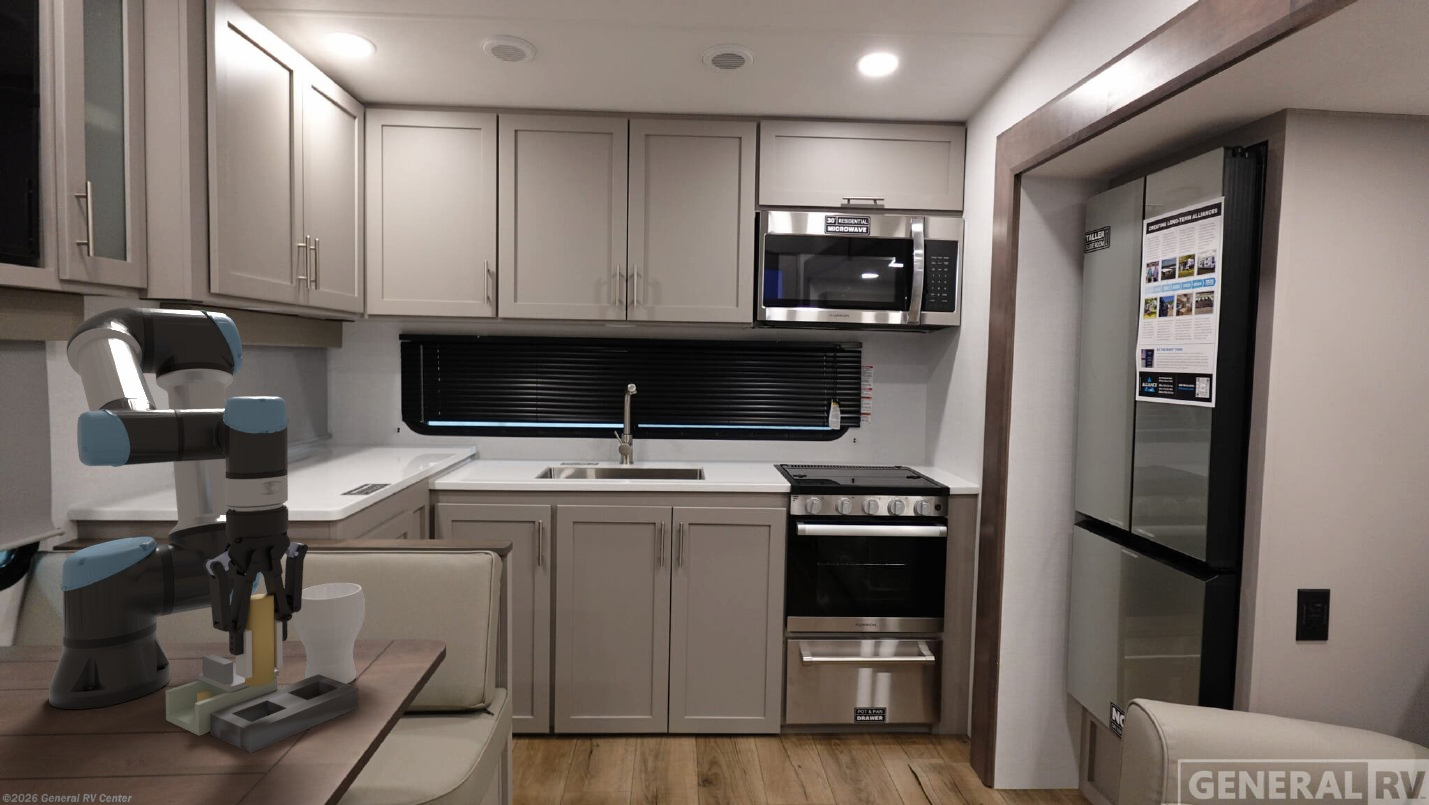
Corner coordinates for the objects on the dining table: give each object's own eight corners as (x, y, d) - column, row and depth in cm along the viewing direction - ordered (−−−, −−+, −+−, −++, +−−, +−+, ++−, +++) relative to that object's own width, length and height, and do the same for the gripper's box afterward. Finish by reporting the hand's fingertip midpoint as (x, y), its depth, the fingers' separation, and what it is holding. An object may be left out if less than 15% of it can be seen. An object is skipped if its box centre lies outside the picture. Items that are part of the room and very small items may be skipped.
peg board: (210, 734, 105) (210, 713, 105) (318, 692, 119) (318, 674, 119) (250, 753, 100) (250, 731, 100) (358, 707, 114) (358, 688, 114)
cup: (336, 696, 118) (335, 602, 117) (278, 690, 120) (277, 597, 119) (379, 670, 128) (378, 584, 128) (325, 664, 130) (324, 579, 130)
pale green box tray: (166, 720, 109) (165, 690, 109) (244, 692, 119) (243, 665, 119) (198, 735, 105) (198, 705, 105) (277, 705, 114) (276, 677, 114)
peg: (254, 688, 103) (253, 602, 103) (239, 683, 105) (238, 598, 105) (279, 679, 106) (279, 596, 106) (265, 674, 108) (264, 592, 108)
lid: (197, 679, 113) (197, 654, 113) (245, 663, 119) (245, 640, 119) (230, 692, 108) (230, 666, 108) (278, 675, 114) (278, 651, 114)
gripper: (208, 518, 96) (210, 698, 97) (329, 500, 110) (330, 656, 111) (177, 512, 99) (180, 685, 100) (299, 495, 114) (300, 647, 115)
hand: (259, 670), depth 106 cm, fingers closed on peg, 3 cm apart
